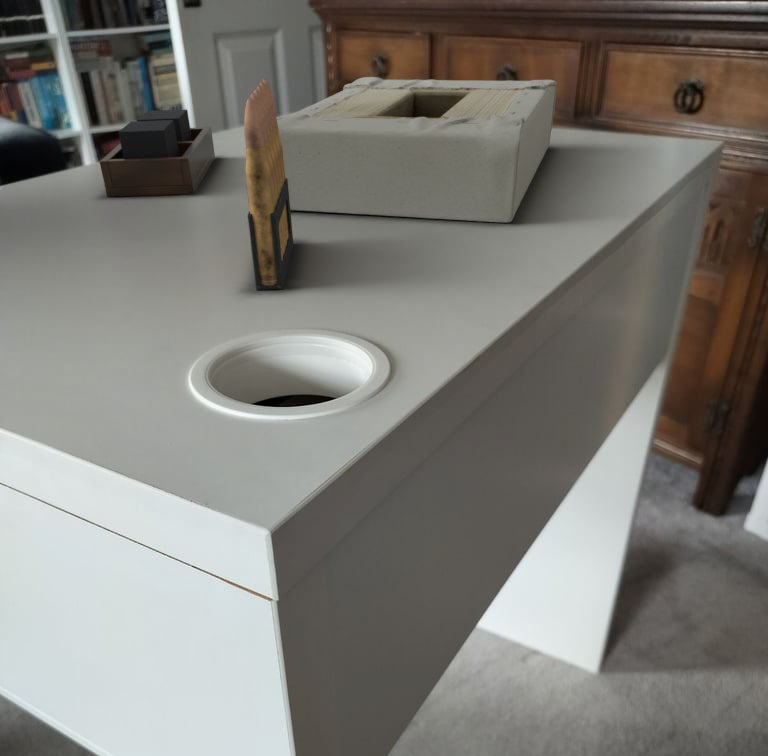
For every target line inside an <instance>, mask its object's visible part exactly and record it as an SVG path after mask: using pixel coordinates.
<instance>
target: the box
mask: <svg viewBox="0 0 768 756" xmlns="http://www.w3.org/2000/svg"><path fill="white" fill-rule="evenodd" d="M557 88H558V82H557V81H556V80H553V79H531V80H473V79H472V80H461V79H460V80H459V79H458V80H457V79H455V80H453V79H434V78H433V79H432V78H430V79H418V78H417V79H416V78H415V79H383V78H381V77H378V76H377V77H376V76H365V77H360V78H357V79H356V80H354V81H352V82H351V83H347V84H344V86H343V88H342V90H341V91H338V92H337V93H334V94H333V95H330V96H328V97H326V98H324V99H322V100H320V101H317V102H315V103H313V104H311V105H309V106H307V107H305V108H303V109H301V110H299V111H296V112H294V113H292V114H283V115H281V116H277V122H278V130H279V135H280V139H281V143H282V150H283V160H284V170H285V178H287V179H288V190H289V201H290V211H299V212H300V211H301V212H302V211H304V212H318V213H319V212H320V213H336V214H351V215H369V216H385V217H403V218H404V217H405V218H421V219H437V220H450V221H451V220H455V221H468V222H469V221H470V222H490V223H506V224H507V223H511V222H512V221H513V219H514V217H515V215H516V212H517V211H518V208H519V207H520V205H521V202H522V200H523V199H524V197H525V194H526V192H527V191H528V188H529V186H530V184H531V182H532V180H533V178H534V176H535V174H536V172H537V170H538V169H539V167H540V164H541V162H542V160H543V159H544V156H545V154H546V153H547V151H548V148H549V146H550V142H551V136H552V130H553V129H552V128H553V125H554V124H553V123H554V117H555V108H556V100H557V92H558V91H557Z"/></svg>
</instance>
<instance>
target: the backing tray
mask: <svg viewBox="0 0 768 756" xmlns="http://www.w3.org/2000/svg"><path fill="white" fill-rule="evenodd" d="M190 131H191V137H192V141H179V142H177V143H178V149H179V155H180V157H163V158H136V159H124V158H123V153H122V148H121V143H120V142H119V144H118V145H116V146H115V147H114V148H113V149H112V150H111V151H110V152H108V154H106V155H105V156H104V157H103V158H102V159H101V160H100V161H99V165H100V171H101V174H102V180H103V185H104V187H105V194H106V197H107V198H111V197H112V198H117V197H140V196H141V197H143V196H169V195H170V196H171V195H193V194H195V192H196V191H197V189H198V187H199V186H200V184H201V182H202V180H203V179H204V178H205V176H206V174H207V172H208V171H209V169H210V167H211V166H212V164H213V163H214V161H215V159H216V154H215V146H214V139H213V131H212V127H211V126H207V127H206V126H205V127H190Z"/></svg>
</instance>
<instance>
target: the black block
mask: <svg viewBox="0 0 768 756" xmlns="http://www.w3.org/2000/svg"><path fill="white" fill-rule="evenodd" d="M118 137H119V144H120V143H121V148H122V153H123V158H124V159H136V158H163V157H180V155H179V149H178V143H177V137H176V131H175V125H174V120H161V121H137V120H136V121H132V120H131V121H130V122H129V123H127V124H126V125H125V126H124V127H123V128H121V129H120V130H119V131H118Z"/></svg>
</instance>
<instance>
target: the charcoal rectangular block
mask: <svg viewBox="0 0 768 756" xmlns="http://www.w3.org/2000/svg"><path fill="white" fill-rule="evenodd" d="M161 120H174V125H175V131H176V137H177V142H179V141H192V137H191V131H190V128H191V126H190V124H191V123H190V119H189V112H188V109H164V110H163V109H159V110H146V112H144V113H143V114H141V116H139V117H138V118H137V119H136V121H161Z"/></svg>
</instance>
